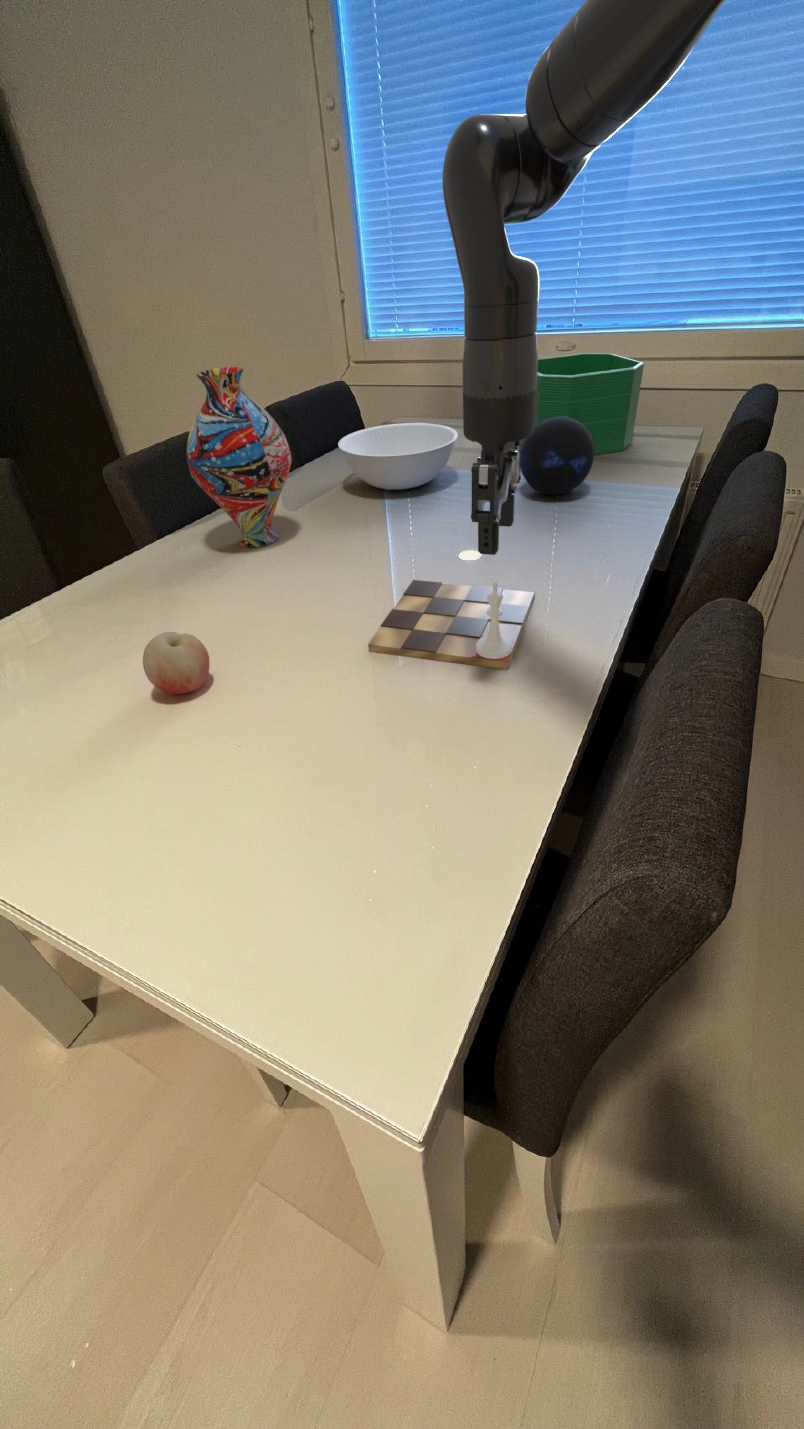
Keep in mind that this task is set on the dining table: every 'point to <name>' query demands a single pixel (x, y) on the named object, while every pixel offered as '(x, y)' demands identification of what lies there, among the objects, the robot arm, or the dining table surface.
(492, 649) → the chess piece
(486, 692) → the dining table surface
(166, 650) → the fruit
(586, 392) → the planter
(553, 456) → the decorative sphere
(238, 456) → the vase
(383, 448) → the bowl
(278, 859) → the dining table surface
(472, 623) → the game board
